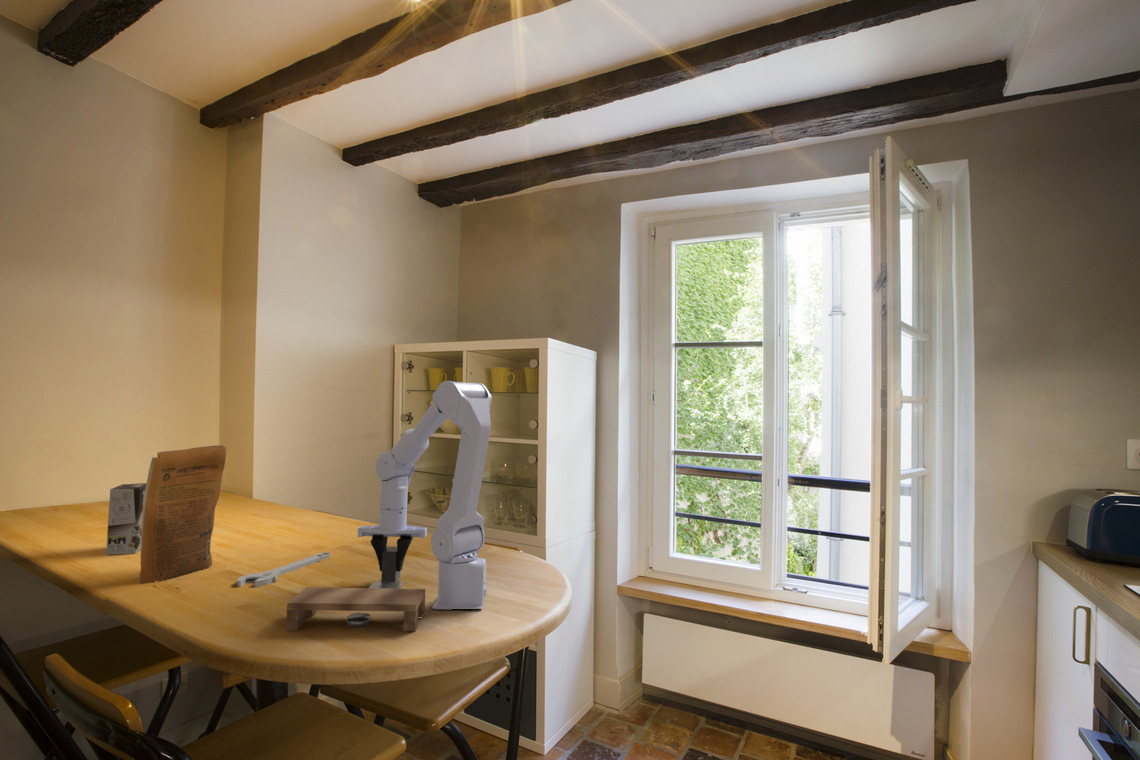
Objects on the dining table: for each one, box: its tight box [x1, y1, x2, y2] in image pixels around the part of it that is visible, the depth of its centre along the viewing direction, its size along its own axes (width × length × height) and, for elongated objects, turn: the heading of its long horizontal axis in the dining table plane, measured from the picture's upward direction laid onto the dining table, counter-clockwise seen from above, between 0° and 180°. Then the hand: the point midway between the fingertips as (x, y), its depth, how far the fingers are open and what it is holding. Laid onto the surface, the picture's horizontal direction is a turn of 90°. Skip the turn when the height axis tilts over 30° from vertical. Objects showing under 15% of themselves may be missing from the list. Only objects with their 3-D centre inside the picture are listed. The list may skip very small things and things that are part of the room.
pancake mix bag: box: [137, 444, 227, 584], centre depth 126 cm, size 7×19×28 cm, turn 159°
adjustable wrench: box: [236, 551, 331, 588], centre depth 130 cm, size 25×6×2 cm, turn 158°
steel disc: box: [345, 612, 371, 628], centre depth 102 cm, size 4×4×1 cm
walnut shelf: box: [285, 586, 426, 633], centre depth 102 cm, size 22×8×5 cm, turn 93°
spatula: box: [368, 545, 403, 589], centre depth 117 cm, size 6×18×7 cm, turn 3°
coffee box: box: [105, 482, 147, 556], centre depth 143 cm, size 9×6×16 cm
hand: (391, 570), depth 124 cm, fingers closed on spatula, 3 cm apart
